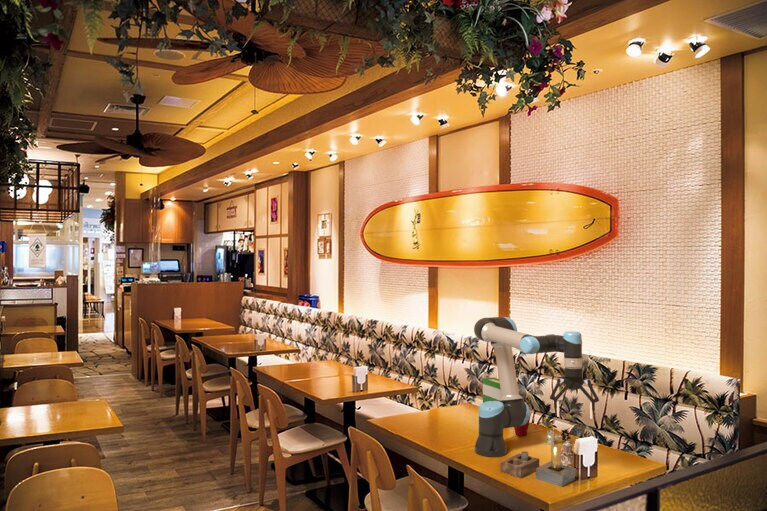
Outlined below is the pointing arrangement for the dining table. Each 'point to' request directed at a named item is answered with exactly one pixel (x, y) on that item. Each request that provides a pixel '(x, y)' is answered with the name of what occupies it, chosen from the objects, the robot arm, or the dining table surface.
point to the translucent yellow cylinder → (556, 458)
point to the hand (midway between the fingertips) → (574, 417)
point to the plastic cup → (522, 429)
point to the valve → (556, 436)
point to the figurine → (567, 454)
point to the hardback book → (491, 389)
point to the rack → (519, 465)
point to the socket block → (556, 474)
